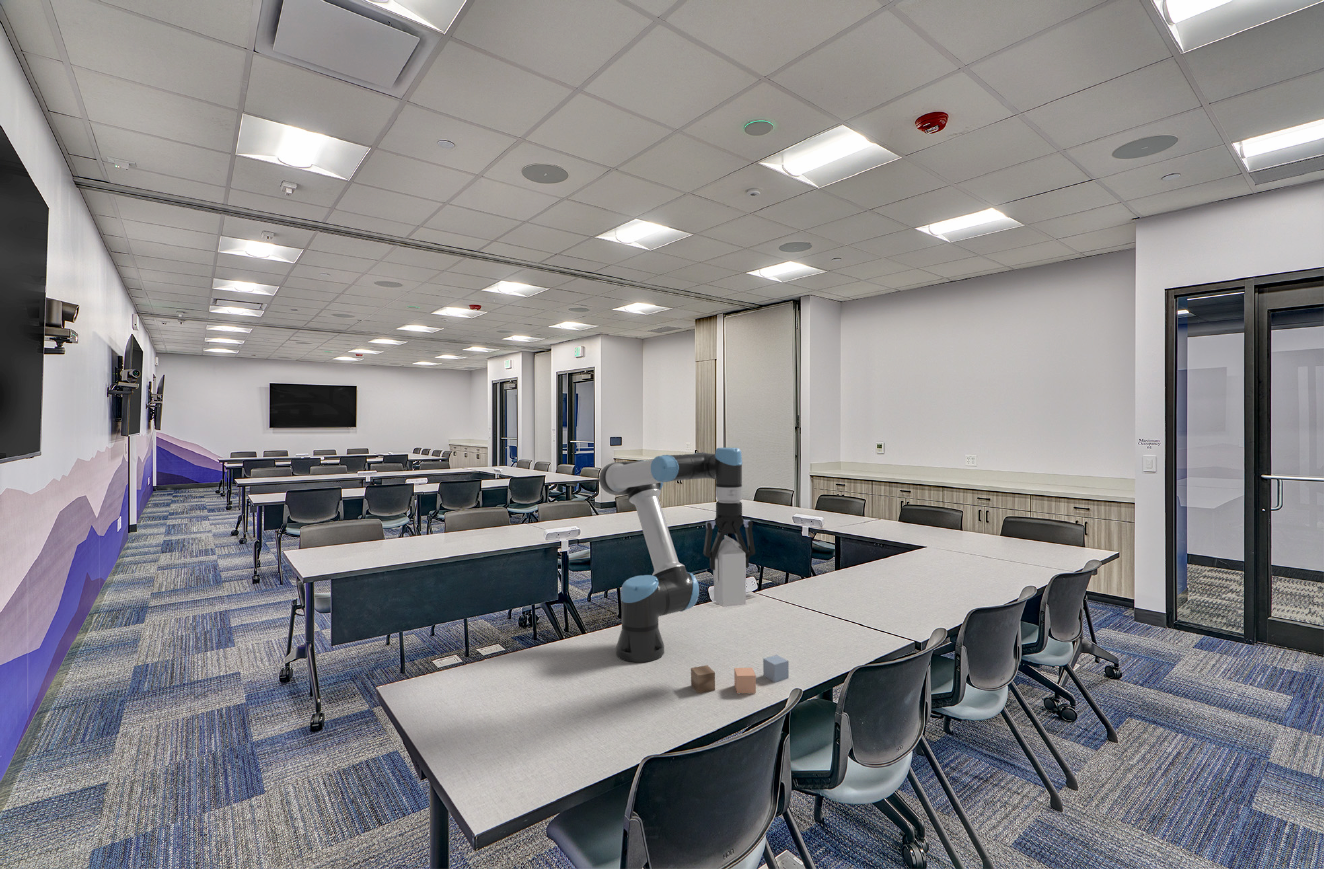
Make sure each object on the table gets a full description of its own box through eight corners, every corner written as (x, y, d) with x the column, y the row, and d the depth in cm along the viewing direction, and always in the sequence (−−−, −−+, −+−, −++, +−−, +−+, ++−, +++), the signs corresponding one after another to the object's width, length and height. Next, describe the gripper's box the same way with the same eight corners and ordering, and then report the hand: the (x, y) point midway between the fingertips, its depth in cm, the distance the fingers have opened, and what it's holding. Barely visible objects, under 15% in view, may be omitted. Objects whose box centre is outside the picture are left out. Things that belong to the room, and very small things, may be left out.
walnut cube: (698, 693, 155) (697, 675, 155) (691, 685, 160) (690, 668, 159) (715, 690, 156) (715, 672, 156) (707, 683, 161) (707, 665, 161)
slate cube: (774, 682, 161) (774, 664, 161) (763, 675, 165) (763, 658, 165) (788, 678, 163) (788, 661, 163) (776, 671, 168) (776, 654, 168)
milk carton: (722, 607, 163) (722, 540, 162) (713, 600, 170) (713, 535, 169) (746, 605, 165) (745, 539, 164) (736, 598, 171) (735, 534, 171)
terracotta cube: (737, 694, 154) (737, 676, 154) (734, 686, 159) (734, 668, 159) (755, 694, 154) (755, 675, 154) (752, 685, 159) (752, 667, 159)
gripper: (697, 504, 161) (697, 585, 162) (767, 501, 164) (767, 581, 165) (691, 500, 168) (692, 578, 169) (758, 498, 172) (759, 574, 172)
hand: (729, 579), depth 167 cm, fingers closed on milk carton, 7 cm apart
